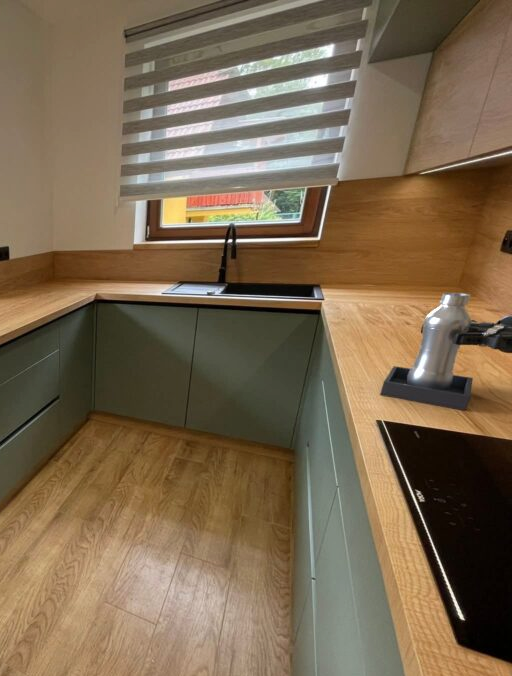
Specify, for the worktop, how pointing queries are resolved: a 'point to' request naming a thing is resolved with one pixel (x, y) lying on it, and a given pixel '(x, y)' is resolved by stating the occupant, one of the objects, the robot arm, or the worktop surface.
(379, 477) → the worktop surface
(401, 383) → the tray
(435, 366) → the silver bottle
